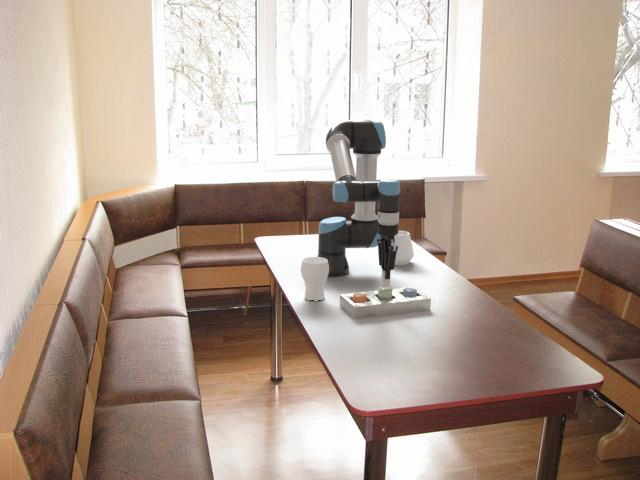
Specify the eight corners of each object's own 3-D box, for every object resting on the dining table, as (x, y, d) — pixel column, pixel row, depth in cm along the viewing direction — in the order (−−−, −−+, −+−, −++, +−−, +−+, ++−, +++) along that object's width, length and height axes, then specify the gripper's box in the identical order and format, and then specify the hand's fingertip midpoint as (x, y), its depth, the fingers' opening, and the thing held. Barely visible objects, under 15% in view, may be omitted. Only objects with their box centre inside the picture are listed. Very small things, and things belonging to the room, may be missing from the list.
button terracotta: (350, 307, 242) (350, 294, 241) (363, 305, 244) (363, 292, 242) (355, 311, 237) (356, 298, 236) (369, 310, 239) (369, 297, 238)
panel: (339, 305, 245) (339, 294, 244) (412, 297, 255) (413, 286, 254) (354, 319, 232) (354, 307, 231) (430, 310, 242) (430, 298, 241)
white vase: (418, 261, 304) (419, 231, 300) (405, 268, 293) (407, 237, 289) (391, 256, 311) (393, 227, 307) (378, 263, 300) (379, 233, 296)
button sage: (375, 300, 245) (375, 287, 243) (388, 298, 246) (388, 285, 245) (381, 304, 240) (381, 291, 239) (394, 303, 242) (395, 290, 240)
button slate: (399, 301, 248) (400, 288, 247) (412, 300, 250) (413, 287, 249) (406, 306, 244) (406, 293, 242) (418, 304, 245) (419, 291, 244)
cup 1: (325, 303, 247) (326, 265, 244) (297, 301, 249) (298, 263, 246) (330, 294, 257) (331, 257, 254) (304, 292, 259) (304, 255, 256)
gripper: (370, 220, 241) (369, 282, 246) (386, 227, 229) (383, 293, 234) (389, 218, 243) (387, 280, 249) (405, 226, 231) (403, 291, 237)
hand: (385, 286), depth 241 cm, fingers closed
